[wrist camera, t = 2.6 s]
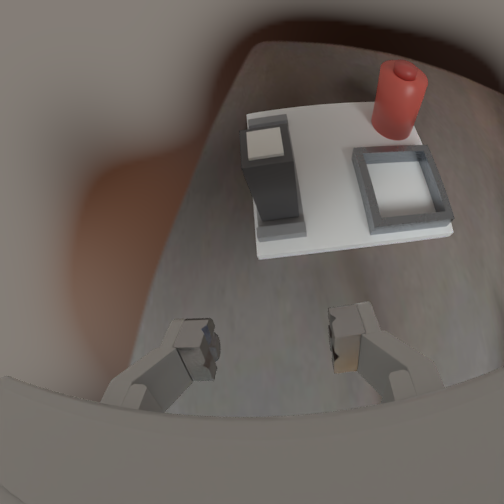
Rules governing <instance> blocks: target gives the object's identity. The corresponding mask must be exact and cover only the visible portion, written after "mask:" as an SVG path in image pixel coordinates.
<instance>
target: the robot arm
mask: <svg viewBox="0 0 504 504" xmlns="http://www.w3.org/2000/svg"><path fill="white" fill-rule="evenodd" d="M328 318H329V324H330V325H329V326H328V330H329V344H330V351H331V352H332V364H333V370H334V374H337V373H346V372H354V371H358V373H359V374H360V375H361V376H362V377H363V378H364V379H365V380H366V381H367V382H368V383H369V384H370V385H371V386H372V387H373V388H374V389H375V390H376V391H377V392H378V393H379V394H380V395H381V396H382V397H383V398H382V401H381V404H377V405H372V406H366V407H360V408H354V409H348V410H341V411H333V412H325V413H315V414H305V415H292V416H273V417H213V416H195V415H181V414H171V413H164V412H165V411H166V410H167V409H168V408H169V407H170V406H171V405H172V404H173V403H174V402H175V401H176V400H177V399H178V398H179V397H180V395H181V394H182V393H183V392H184V391H185V390H186V389H187V388H188V387H189V386H190V385H191V384H192V383H193V382H192V381H214V379H215V375H216V371H217V366H216V363H215V362H216V361H217V360H218V359H219V357H220V340H219V337H218V335H217V334H216V333H215V332H214V328H215V325H214V322H213V320H212V319H211V318H197V319H174V320H172V321H171V323H170V325H169V328H168V330H167V332H166V334H165V336H164V338H163V341H162V343H161V345H160V347H159V348H155V349H154V350H152V351H151V352H149V353H148V354H147V355H145V356H144V357H143V358H141V359H140V360H138V361H137V362H136V363H134V364H133V365H132V366H130V367H129V368H127V369H126V370H125V371H124V372H122V373H121V374H119V375H118V376H116V377H115V378H114V379H112V380H111V382H110V384H109V386H108V388H107V390H106V392H105V394H104V396H103V398H102V400H101V402H100V403H99V402H95V401H90V400H85V399H81V398H77V397H73V396H69V395H65V394H62V393H58V392H55V391H51V390H48V389H45V388H41V387H38V386H35V385H32V384H29V383H26V382H23V381H20V380H18V379H15V378H12V377H10V376H4V377H1V378H0V504H504V366H503V367H501V368H498V369H496V370H494V371H491V372H489V373H486V374H484V375H481V376H478V377H476V378H473V379H470V380H467V381H464V382H461V383H458V384H455V385H452V386H449V387H446V388H445V387H444V384H443V382H442V379H441V377H440V375H439V372H438V370H437V368H436V365H435V363H434V361H432V360H431V359H429V358H428V357H426V356H424V355H423V354H421V353H420V352H418V351H417V350H415V349H414V348H412V347H410V346H409V345H407V344H406V343H404V342H403V341H401V340H399V339H398V338H396V337H395V336H393V335H392V334H390V333H389V332H387V331H381V328H380V326H379V323H378V320H377V318H376V315H375V313H374V310H373V308H372V305H371V303H370V302H369V301H368V302H362V303H356V304H352V305H345V306H337V307H330V308H328Z"/></svg>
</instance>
